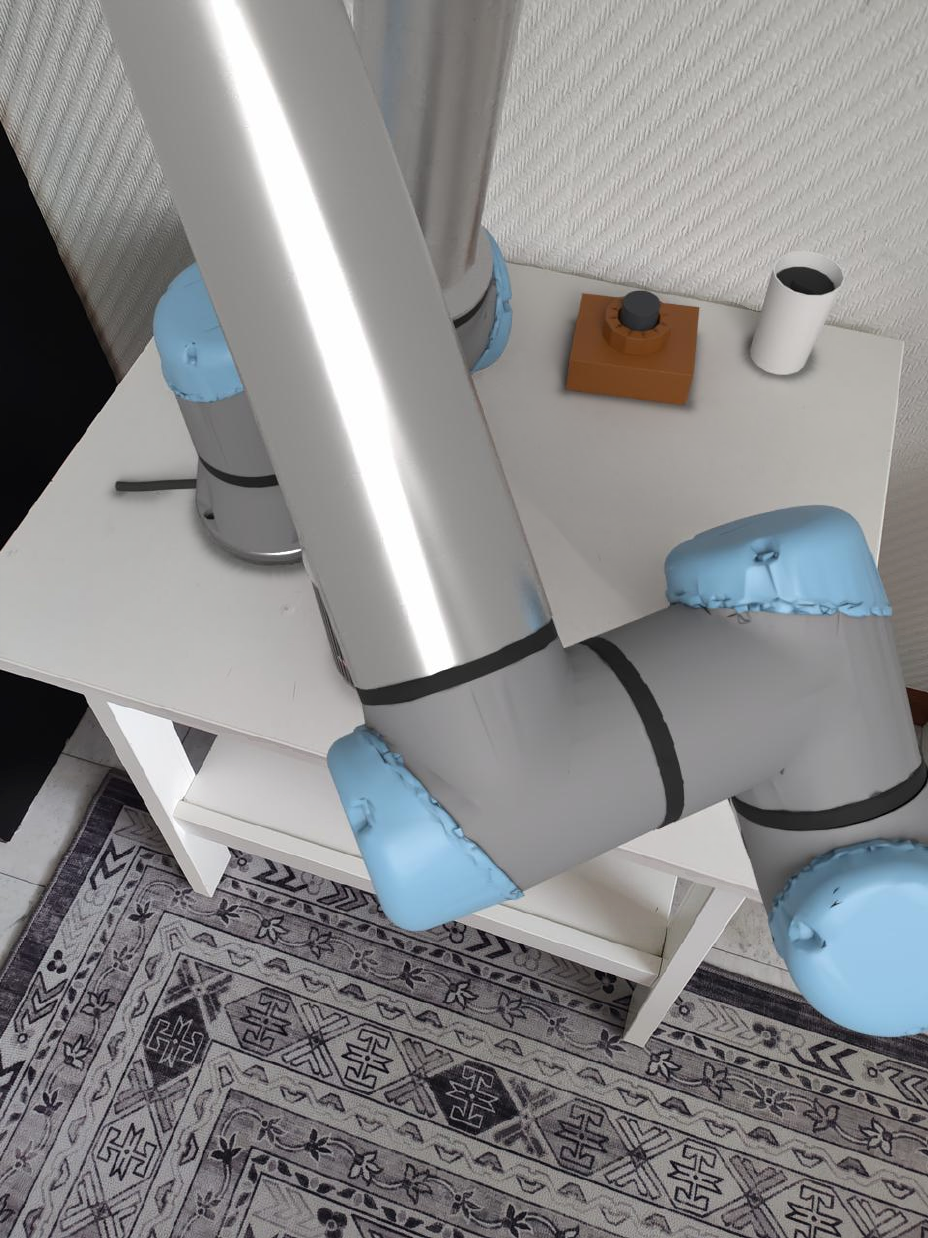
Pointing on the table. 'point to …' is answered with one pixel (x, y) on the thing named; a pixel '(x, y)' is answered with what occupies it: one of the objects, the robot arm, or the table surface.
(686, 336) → the brown block
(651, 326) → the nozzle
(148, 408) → the table surface
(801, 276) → the white cylindrical cup
